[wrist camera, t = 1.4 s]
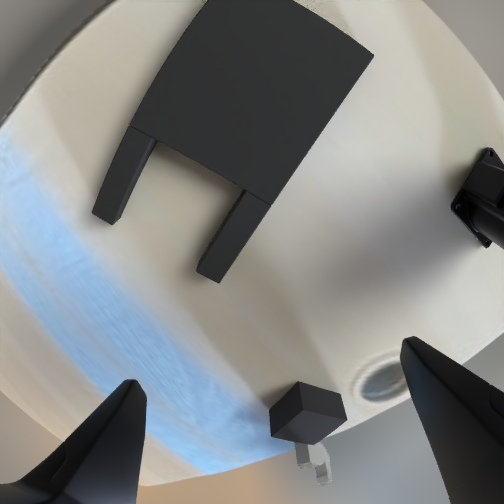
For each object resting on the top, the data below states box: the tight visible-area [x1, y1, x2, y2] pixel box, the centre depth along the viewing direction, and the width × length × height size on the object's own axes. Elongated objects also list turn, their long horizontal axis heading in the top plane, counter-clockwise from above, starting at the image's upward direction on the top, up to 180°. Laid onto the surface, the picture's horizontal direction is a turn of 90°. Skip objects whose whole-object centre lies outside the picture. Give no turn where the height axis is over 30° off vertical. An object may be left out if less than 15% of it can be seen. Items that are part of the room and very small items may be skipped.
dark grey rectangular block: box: [269, 382, 347, 445], centre depth 27 cm, size 5×5×4 cm
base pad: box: [92, 0, 374, 283], centre depth 17 cm, size 10×18×2 cm, turn 148°
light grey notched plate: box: [295, 441, 332, 485], centre depth 30 cm, size 6×1×10 cm
